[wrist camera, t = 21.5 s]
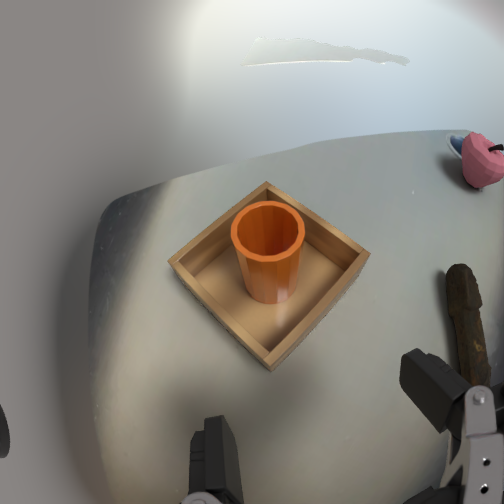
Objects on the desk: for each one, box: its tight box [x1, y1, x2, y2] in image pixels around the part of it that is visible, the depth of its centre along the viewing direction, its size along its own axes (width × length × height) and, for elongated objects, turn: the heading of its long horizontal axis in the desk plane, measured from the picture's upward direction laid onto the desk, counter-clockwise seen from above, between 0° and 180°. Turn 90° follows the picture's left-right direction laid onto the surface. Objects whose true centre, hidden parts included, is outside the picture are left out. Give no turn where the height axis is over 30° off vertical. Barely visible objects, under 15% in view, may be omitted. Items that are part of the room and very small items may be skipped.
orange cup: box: [231, 201, 305, 304], centre depth 25 cm, size 6×6×9 cm
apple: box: [462, 132, 504, 188], centre depth 30 cm, size 10×9×10 cm
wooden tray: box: [168, 181, 371, 372], centre depth 27 cm, size 14×14×5 cm
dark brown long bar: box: [446, 264, 491, 388], centre depth 20 cm, size 19×4×5 cm, turn 177°
